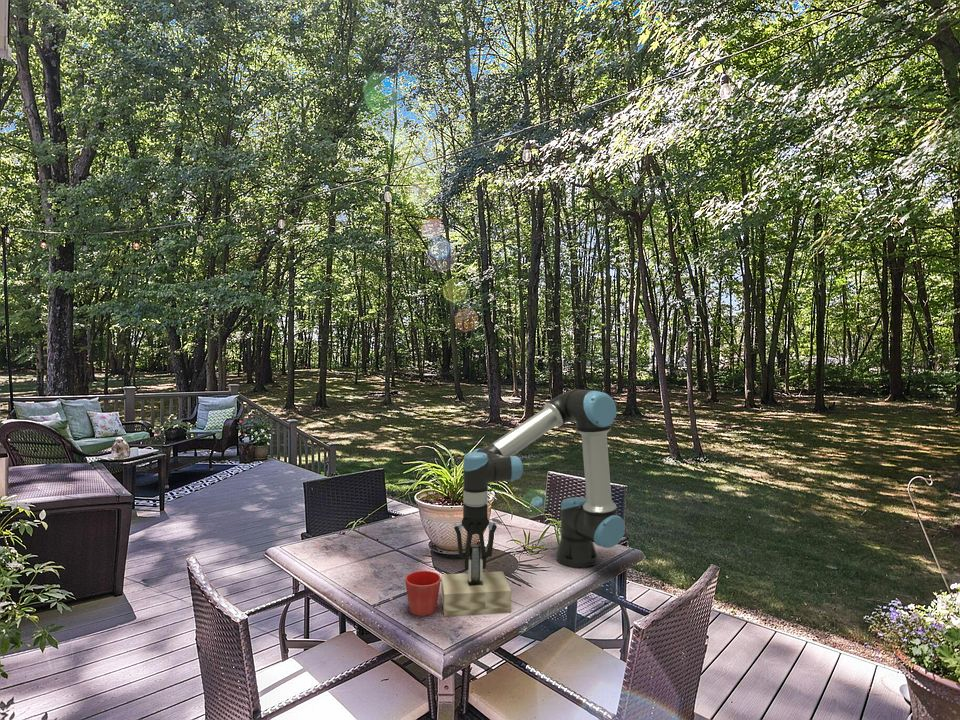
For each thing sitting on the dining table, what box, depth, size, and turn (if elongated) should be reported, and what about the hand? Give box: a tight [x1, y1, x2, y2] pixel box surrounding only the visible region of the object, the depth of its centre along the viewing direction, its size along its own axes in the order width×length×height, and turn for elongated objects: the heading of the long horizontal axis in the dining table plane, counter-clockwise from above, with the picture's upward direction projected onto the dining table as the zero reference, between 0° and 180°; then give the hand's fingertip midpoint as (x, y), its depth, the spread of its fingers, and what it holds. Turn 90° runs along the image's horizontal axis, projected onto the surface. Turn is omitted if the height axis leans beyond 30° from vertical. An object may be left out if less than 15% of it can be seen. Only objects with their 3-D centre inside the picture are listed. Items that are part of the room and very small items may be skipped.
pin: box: [469, 544, 481, 586], centre depth 162 cm, size 3×3×14 cm
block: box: [440, 570, 512, 617], centre depth 162 cm, size 20×14×6 cm
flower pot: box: [404, 570, 441, 616], centre depth 158 cm, size 11×11×10 cm
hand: (475, 579), depth 162 cm, fingers closed on pin, 3 cm apart
